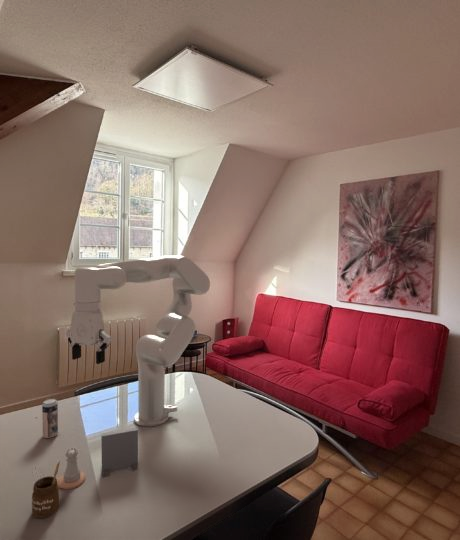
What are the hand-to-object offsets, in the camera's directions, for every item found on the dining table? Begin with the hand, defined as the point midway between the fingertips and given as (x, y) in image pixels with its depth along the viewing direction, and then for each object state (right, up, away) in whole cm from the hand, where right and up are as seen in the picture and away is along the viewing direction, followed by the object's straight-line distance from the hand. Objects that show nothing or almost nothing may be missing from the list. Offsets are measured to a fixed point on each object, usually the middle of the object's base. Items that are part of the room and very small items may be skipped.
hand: (88, 360), depth 115 cm
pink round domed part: (+1, -29, -15) cm, 33 cm away
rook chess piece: (+1, -29, -15) cm, 32 cm away
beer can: (-16, -28, +8) cm, 33 cm away
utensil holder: (0, -30, -26) cm, 40 cm away
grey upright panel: (+13, -29, -9) cm, 33 cm away
